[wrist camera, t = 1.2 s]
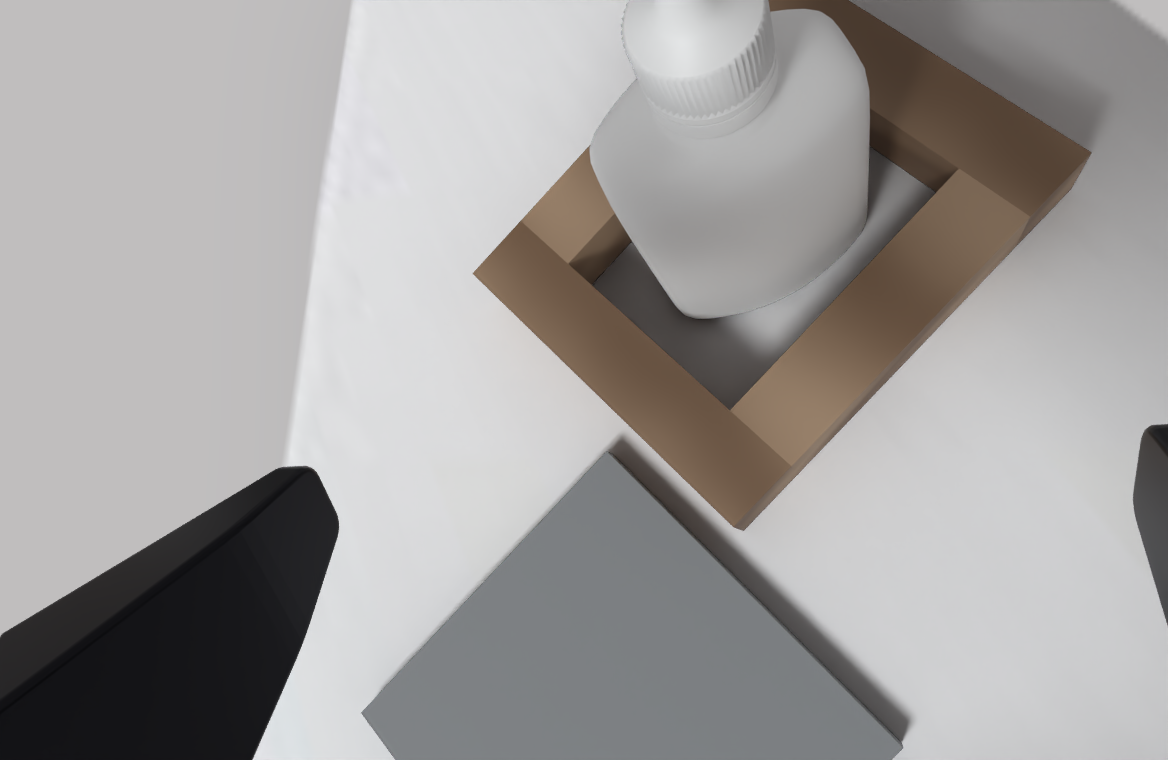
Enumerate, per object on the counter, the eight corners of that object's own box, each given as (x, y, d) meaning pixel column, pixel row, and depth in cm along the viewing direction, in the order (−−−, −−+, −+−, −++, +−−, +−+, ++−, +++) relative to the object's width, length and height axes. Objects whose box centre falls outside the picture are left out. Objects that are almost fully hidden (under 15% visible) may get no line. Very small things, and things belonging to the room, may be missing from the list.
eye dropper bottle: (666, 179, 25) (512, -140, 14) (867, 167, 23) (879, -207, 12) (656, 323, 24) (484, 107, 13) (865, 322, 22) (874, 73, 11)
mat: (612, 1035, 21) (605, 1048, 20) (372, 709, 24) (361, 712, 24) (901, 743, 20) (903, 747, 19) (612, 454, 24) (606, 451, 23)
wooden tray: (743, 530, 22) (733, 527, 20) (500, 295, 26) (472, 273, 24) (1071, 188, 22) (1091, 152, 20) (774, -4, 25) (768, -50, 23)
